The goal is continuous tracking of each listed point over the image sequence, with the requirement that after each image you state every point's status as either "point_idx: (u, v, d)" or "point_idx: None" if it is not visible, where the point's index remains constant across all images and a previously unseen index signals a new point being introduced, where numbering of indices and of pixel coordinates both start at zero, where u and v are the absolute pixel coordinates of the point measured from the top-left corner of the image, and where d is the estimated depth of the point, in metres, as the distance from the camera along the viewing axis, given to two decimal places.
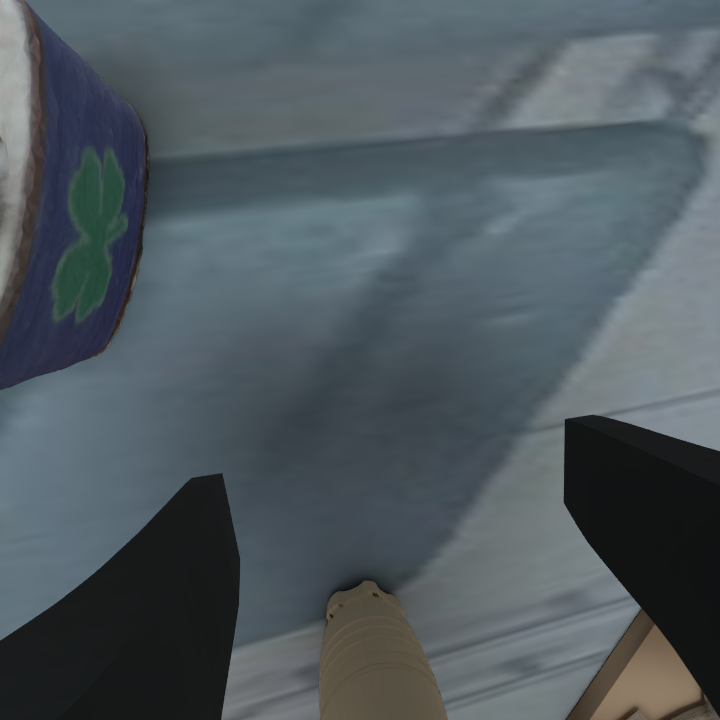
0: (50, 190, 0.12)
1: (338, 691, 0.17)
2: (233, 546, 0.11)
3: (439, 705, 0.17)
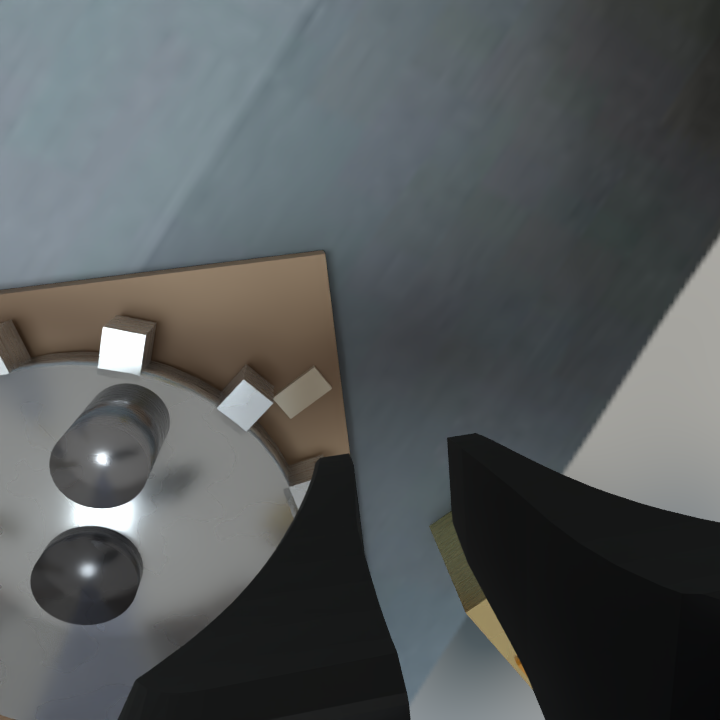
0: None
1: None
2: None
3: None
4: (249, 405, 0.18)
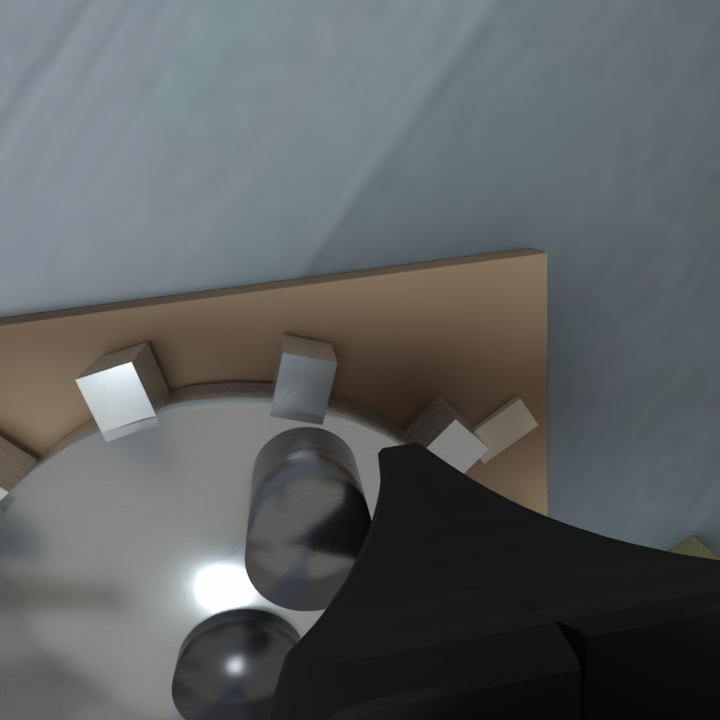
0: None
1: None
2: None
3: None
4: (458, 452, 0.13)
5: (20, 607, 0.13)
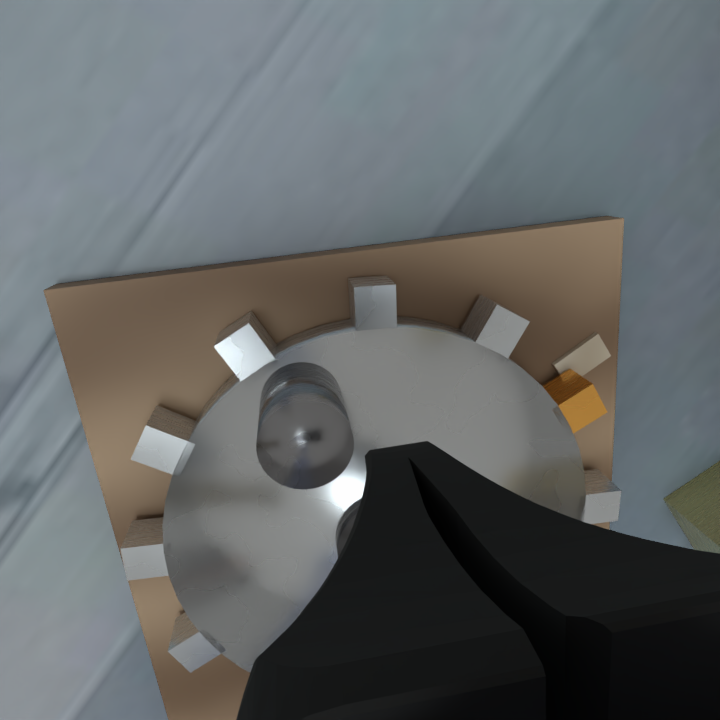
0: None
1: None
2: None
3: None
4: (379, 304, 0.16)
5: (232, 597, 0.19)
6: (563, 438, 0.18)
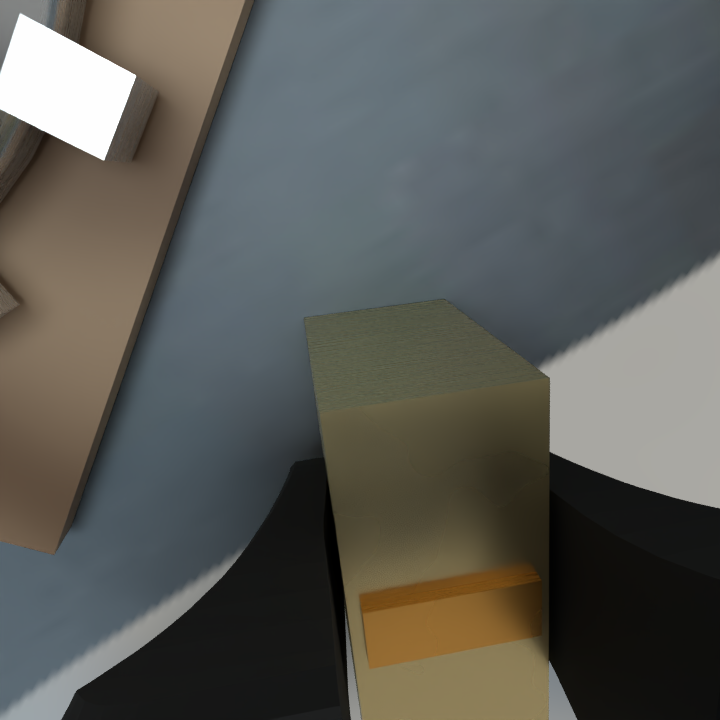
0: None
1: None
2: None
3: None
4: None
5: None
6: None
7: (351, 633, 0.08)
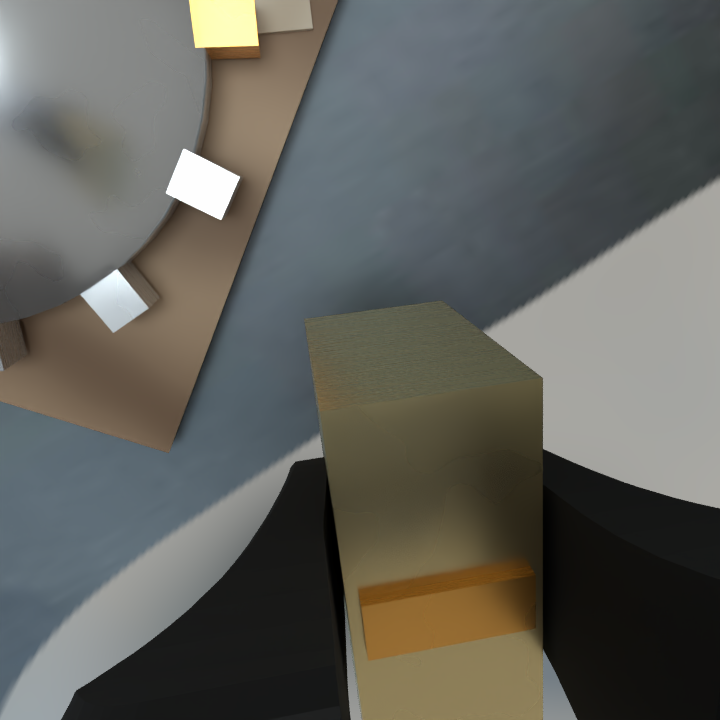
0: None
1: None
2: None
3: None
4: None
5: None
6: (188, 45, 0.14)
7: (350, 626, 0.08)
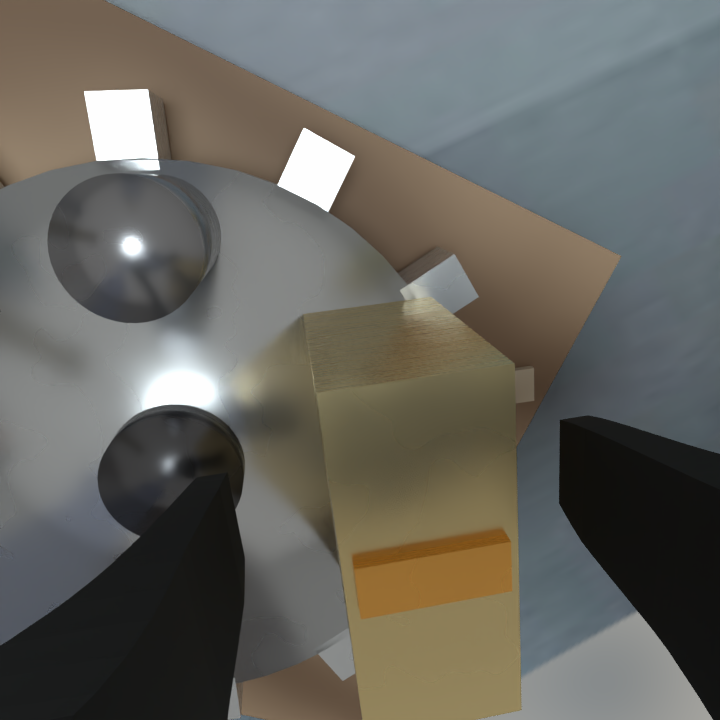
0: None
1: None
2: (238, 545, 0.11)
3: None
4: (322, 168, 0.12)
5: None
6: None
7: (345, 588, 0.09)
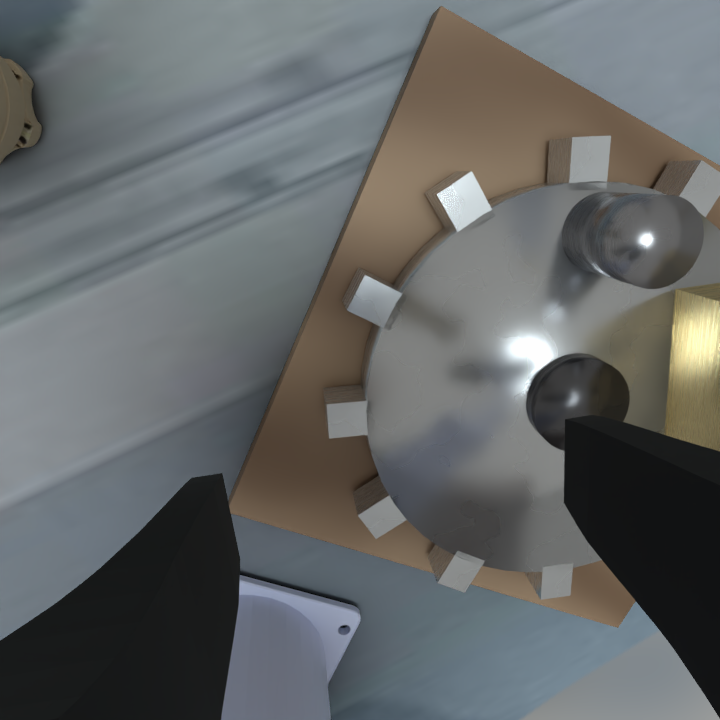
0: None
1: None
2: (233, 546, 0.11)
3: None
4: (707, 187, 0.17)
5: (417, 384, 0.18)
6: None
7: None
